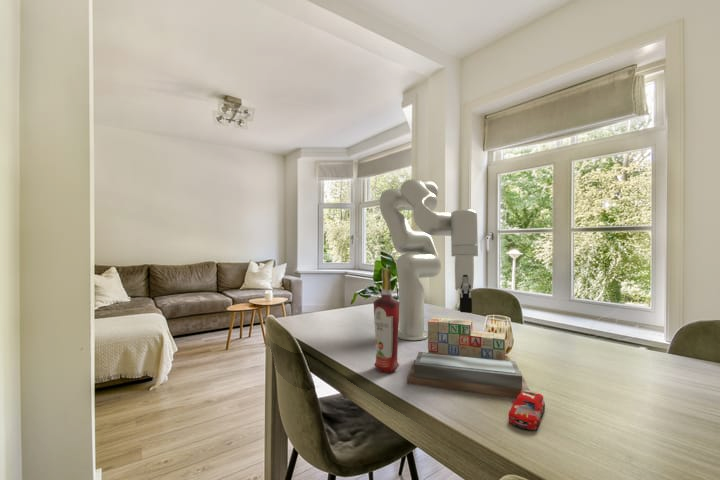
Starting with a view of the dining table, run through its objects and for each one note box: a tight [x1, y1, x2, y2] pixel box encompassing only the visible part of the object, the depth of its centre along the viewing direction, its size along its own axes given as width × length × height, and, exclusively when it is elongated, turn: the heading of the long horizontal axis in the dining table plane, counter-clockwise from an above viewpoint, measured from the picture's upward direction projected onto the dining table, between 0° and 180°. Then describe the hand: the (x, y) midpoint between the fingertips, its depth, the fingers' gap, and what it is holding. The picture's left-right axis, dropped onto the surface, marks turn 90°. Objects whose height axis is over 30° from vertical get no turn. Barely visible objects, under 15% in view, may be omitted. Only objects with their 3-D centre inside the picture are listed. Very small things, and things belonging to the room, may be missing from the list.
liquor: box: [373, 268, 400, 374], centre depth 91 cm, size 7×7×28 cm
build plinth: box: [406, 351, 531, 399], centre depth 83 cm, size 13×28×5 cm, turn 73°
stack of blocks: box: [427, 316, 506, 360], centre depth 95 cm, size 21×6×12 cm, turn 64°
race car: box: [508, 390, 546, 431], centre depth 66 cm, size 13×5×4 cm, turn 141°
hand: (465, 309), depth 95 cm, fingers open, 9 cm apart
